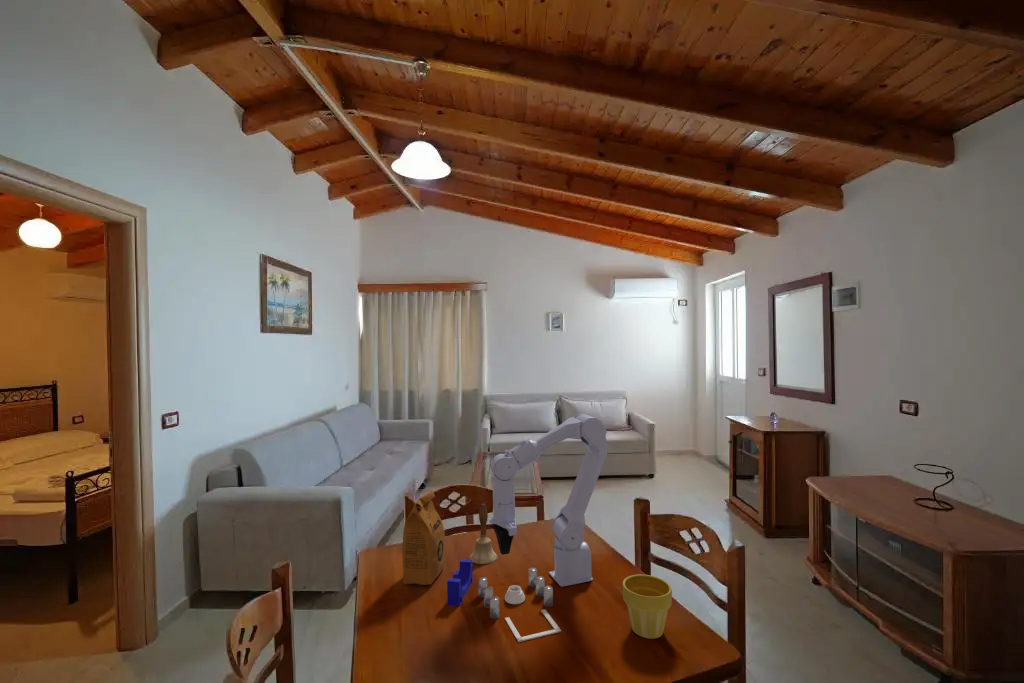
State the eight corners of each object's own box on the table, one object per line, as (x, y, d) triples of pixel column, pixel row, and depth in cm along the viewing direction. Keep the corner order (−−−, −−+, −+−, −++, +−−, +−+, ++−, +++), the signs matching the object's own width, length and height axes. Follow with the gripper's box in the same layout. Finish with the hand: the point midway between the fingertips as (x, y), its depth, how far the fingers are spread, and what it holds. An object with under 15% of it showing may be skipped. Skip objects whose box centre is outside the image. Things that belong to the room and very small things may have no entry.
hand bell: (481, 549, 145) (480, 498, 145) (503, 556, 140) (502, 502, 141) (463, 560, 139) (462, 505, 139) (485, 567, 134) (484, 511, 134)
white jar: (525, 595, 119) (505, 595, 119) (524, 583, 119) (505, 583, 119) (525, 605, 114) (504, 605, 114) (524, 593, 114) (504, 593, 114)
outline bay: (544, 610, 111) (544, 609, 111) (561, 631, 103) (561, 630, 103) (504, 619, 108) (504, 617, 108) (518, 642, 99) (518, 640, 99)
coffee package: (451, 568, 133) (449, 490, 134) (431, 590, 121) (430, 505, 122) (419, 564, 136) (418, 488, 136) (397, 585, 124) (396, 502, 124)
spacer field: (535, 582, 125) (535, 567, 125) (554, 605, 113) (554, 589, 113) (477, 593, 119) (477, 577, 119) (491, 619, 108) (491, 602, 108)
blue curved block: (456, 581, 126) (456, 558, 127) (472, 582, 126) (472, 559, 126) (441, 605, 115) (441, 580, 115) (459, 606, 114) (458, 581, 114)
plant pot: (652, 612, 110) (651, 570, 110) (683, 637, 100) (682, 591, 100) (614, 622, 106) (613, 578, 106) (642, 649, 96) (641, 601, 97)
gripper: (481, 494, 129) (482, 544, 129) (497, 512, 115) (498, 567, 115) (506, 491, 131) (506, 540, 131) (524, 508, 118) (525, 562, 118)
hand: (504, 553), depth 123 cm, fingers closed
